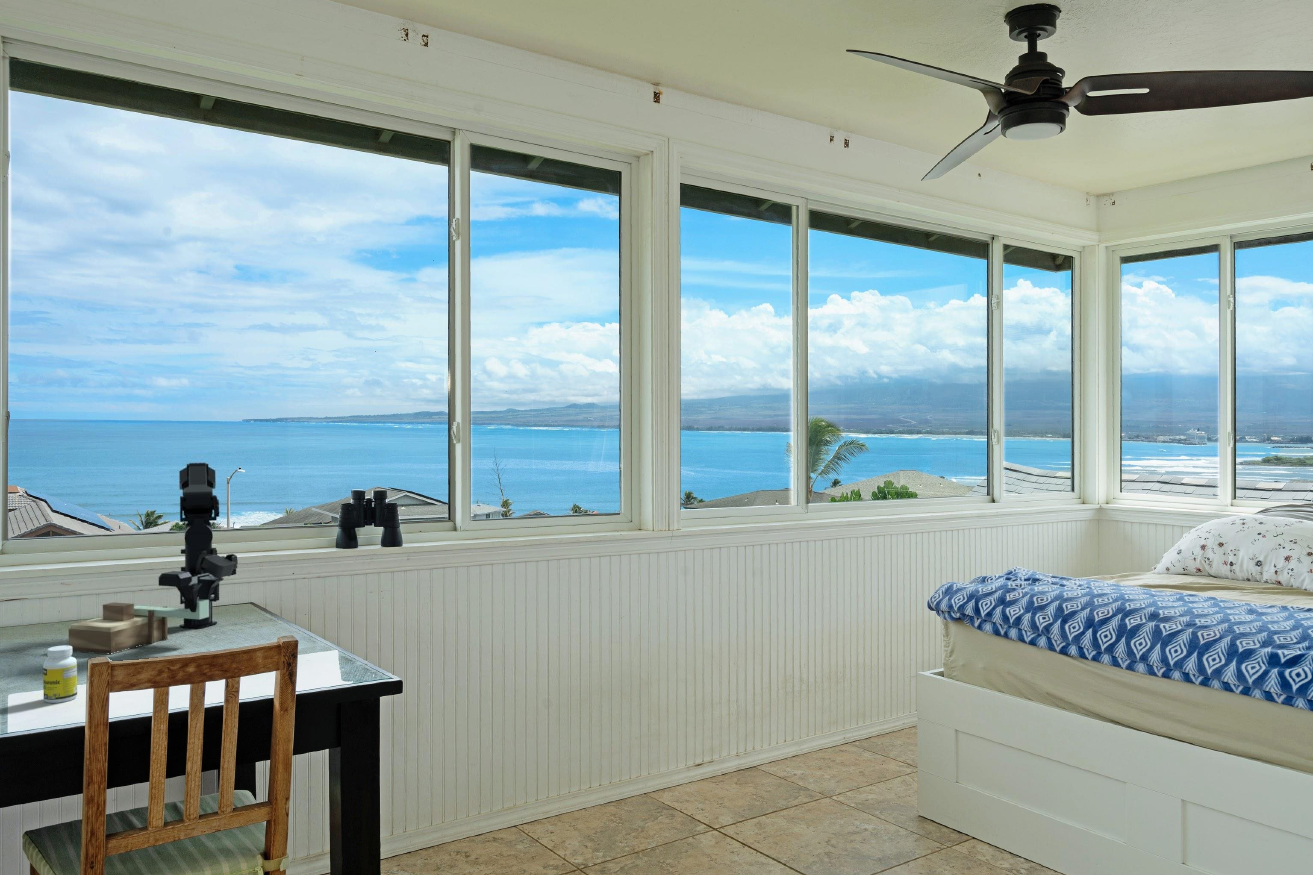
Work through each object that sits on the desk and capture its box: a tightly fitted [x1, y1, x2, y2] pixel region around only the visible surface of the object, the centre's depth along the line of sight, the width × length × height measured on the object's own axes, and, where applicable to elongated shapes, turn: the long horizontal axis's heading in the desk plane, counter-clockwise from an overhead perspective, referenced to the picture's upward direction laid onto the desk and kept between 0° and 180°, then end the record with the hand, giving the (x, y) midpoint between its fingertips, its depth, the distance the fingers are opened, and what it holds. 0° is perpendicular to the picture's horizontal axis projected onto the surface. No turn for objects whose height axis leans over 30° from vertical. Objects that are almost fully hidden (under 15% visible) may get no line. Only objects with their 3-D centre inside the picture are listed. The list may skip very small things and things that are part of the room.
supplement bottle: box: [42, 645, 78, 704], centre depth 178 cm, size 5×5×10 cm
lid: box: [69, 601, 162, 632], centre depth 221 cm, size 16×11×5 cm
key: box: [134, 599, 209, 619], centre depth 223 cm, size 3×21×4 cm, turn 74°
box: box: [68, 606, 169, 655], centre depth 221 cm, size 16×14×8 cm
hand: (198, 610), depth 221 cm, fingers closed on key, 3 cm apart
